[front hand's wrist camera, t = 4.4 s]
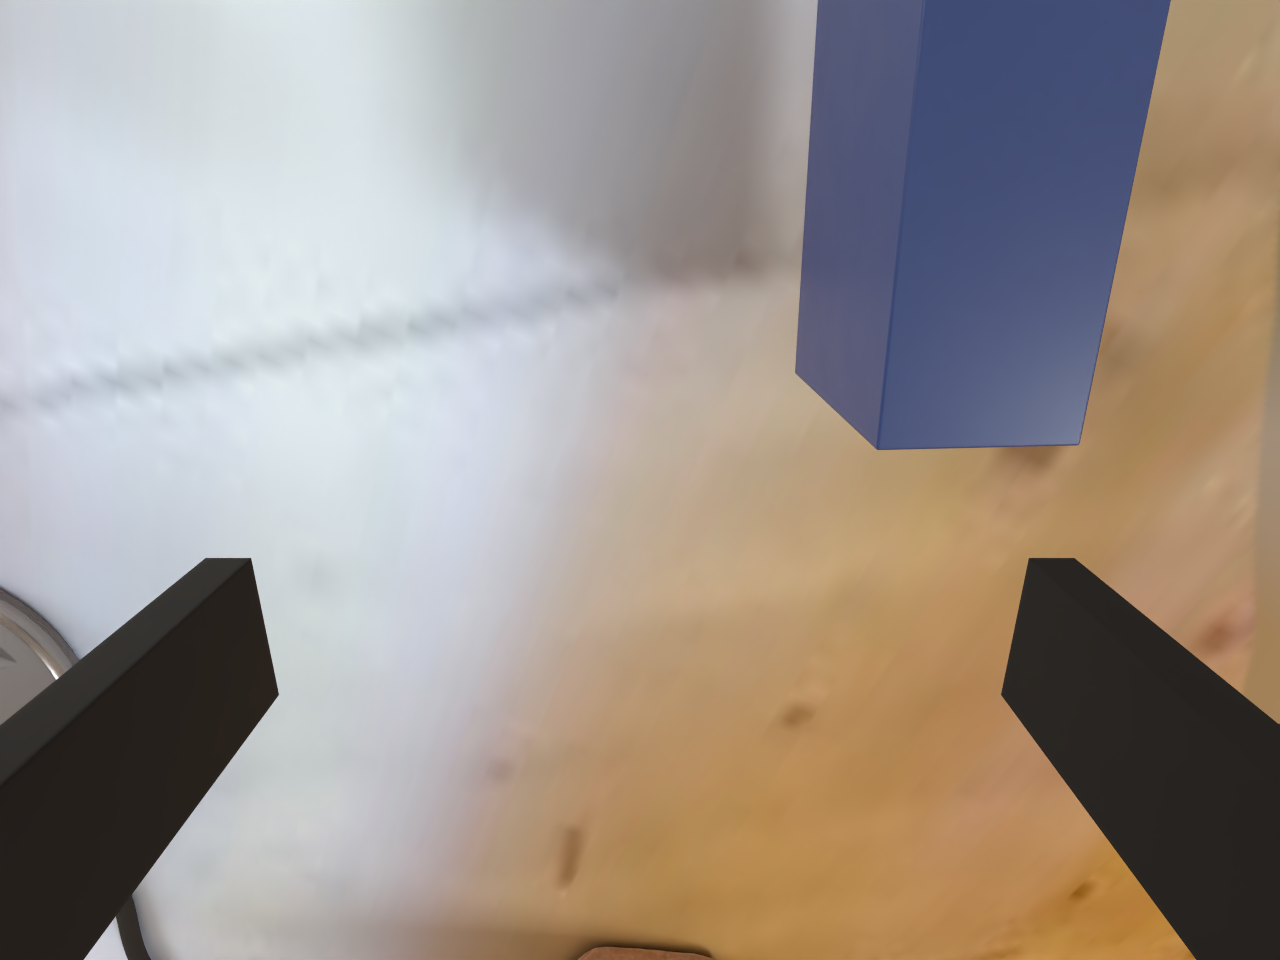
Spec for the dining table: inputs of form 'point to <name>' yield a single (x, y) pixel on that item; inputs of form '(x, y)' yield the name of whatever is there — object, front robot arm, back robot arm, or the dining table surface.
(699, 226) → the dining table surface
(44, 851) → the front robot arm
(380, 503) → the dining table surface
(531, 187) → the dining table surface
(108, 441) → the dining table surface
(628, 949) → the stone
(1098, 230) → the bar
